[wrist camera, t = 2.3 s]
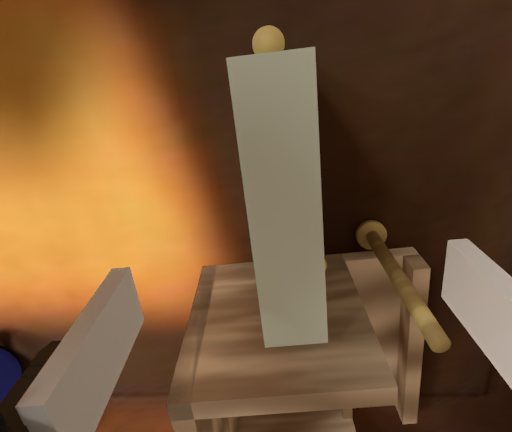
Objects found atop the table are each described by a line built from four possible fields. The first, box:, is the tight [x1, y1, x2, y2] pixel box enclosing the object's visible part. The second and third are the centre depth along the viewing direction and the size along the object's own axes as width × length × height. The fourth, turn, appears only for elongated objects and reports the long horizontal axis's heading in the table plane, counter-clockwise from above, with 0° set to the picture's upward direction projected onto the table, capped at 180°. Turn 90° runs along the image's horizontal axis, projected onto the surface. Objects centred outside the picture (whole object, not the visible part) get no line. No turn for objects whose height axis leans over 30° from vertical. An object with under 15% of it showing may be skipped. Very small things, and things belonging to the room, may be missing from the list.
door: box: [226, 25, 328, 348], centre depth 26 cm, size 18×5×14 cm, turn 6°
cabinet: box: [166, 220, 451, 432], centre depth 32 cm, size 23×21×16 cm
